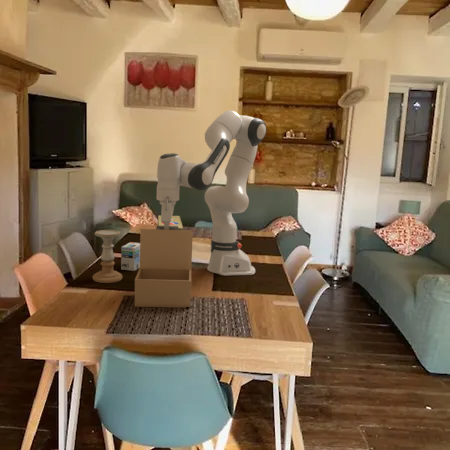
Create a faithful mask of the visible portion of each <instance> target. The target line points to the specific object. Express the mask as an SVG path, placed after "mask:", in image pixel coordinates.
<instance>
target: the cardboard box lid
mask: <svg viewBox="0 0 450 450" xmlns="http://www.w3.org/2000/svg"><path fill="white" fill-rule="evenodd" d="M193 232H194V231H193V230H191V229H190V230H187V229H186V230H185V229H183V230H178V226H169V230H164V226H158V225H156V227H155V228H140V234H139V235H140V237H139V240H140V241H139V243H140V268H161V269H191V270H192V263H193V262H192V261H193V234H194V233H193Z"/></svg>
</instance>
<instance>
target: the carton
mask: <svg viewBox="0 0 450 450" xmlns="http://www.w3.org/2000/svg"><path fill="white" fill-rule="evenodd" d="M136 273H137V274H136V276H135V278H134V307H141V308H142V307H146V308H147V307H149V308H152V307H153V308H186V307H190V308H191V302H192V301H191V299H192V298H191V297H192V268H191V269H162V268H138V271H137V272H136Z"/></svg>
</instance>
